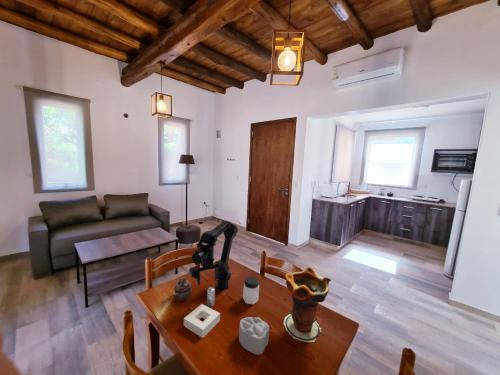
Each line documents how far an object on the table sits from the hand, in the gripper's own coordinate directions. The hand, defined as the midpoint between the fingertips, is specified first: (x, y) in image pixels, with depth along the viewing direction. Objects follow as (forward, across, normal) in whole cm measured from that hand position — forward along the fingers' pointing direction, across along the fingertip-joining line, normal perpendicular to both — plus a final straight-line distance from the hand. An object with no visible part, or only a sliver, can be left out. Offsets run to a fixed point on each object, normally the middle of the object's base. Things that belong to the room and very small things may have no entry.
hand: (207, 283), depth 110 cm
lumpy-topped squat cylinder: (+12, -9, +32) cm, 36 cm away
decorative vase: (+12, -35, +37) cm, 53 cm away
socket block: (+12, +7, +12) cm, 18 cm away
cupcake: (+12, +10, -12) cm, 20 cm away
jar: (+12, -23, +9) cm, 28 cm away
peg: (+12, -2, +2) cm, 12 cm away
